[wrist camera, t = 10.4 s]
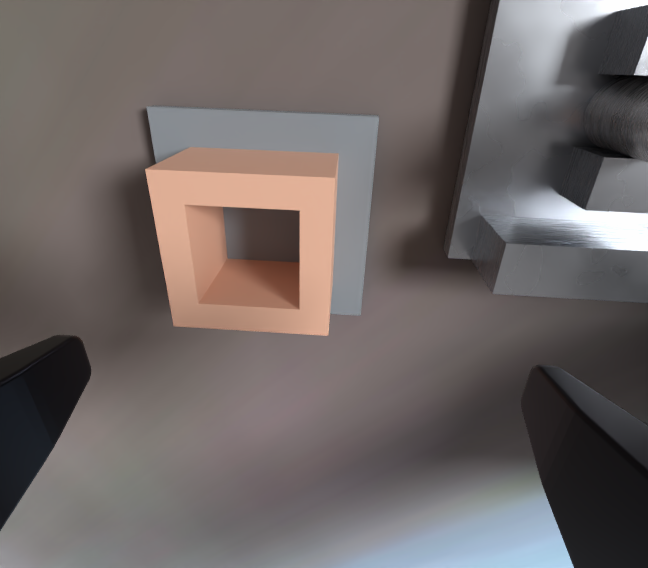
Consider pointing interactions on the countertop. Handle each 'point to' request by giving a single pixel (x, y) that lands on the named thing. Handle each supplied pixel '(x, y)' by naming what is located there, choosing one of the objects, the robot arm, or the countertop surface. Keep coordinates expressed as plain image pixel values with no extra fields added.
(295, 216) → the mat
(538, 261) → the grey plate with rod
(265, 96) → the countertop surface
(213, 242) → the collar
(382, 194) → the countertop surface
